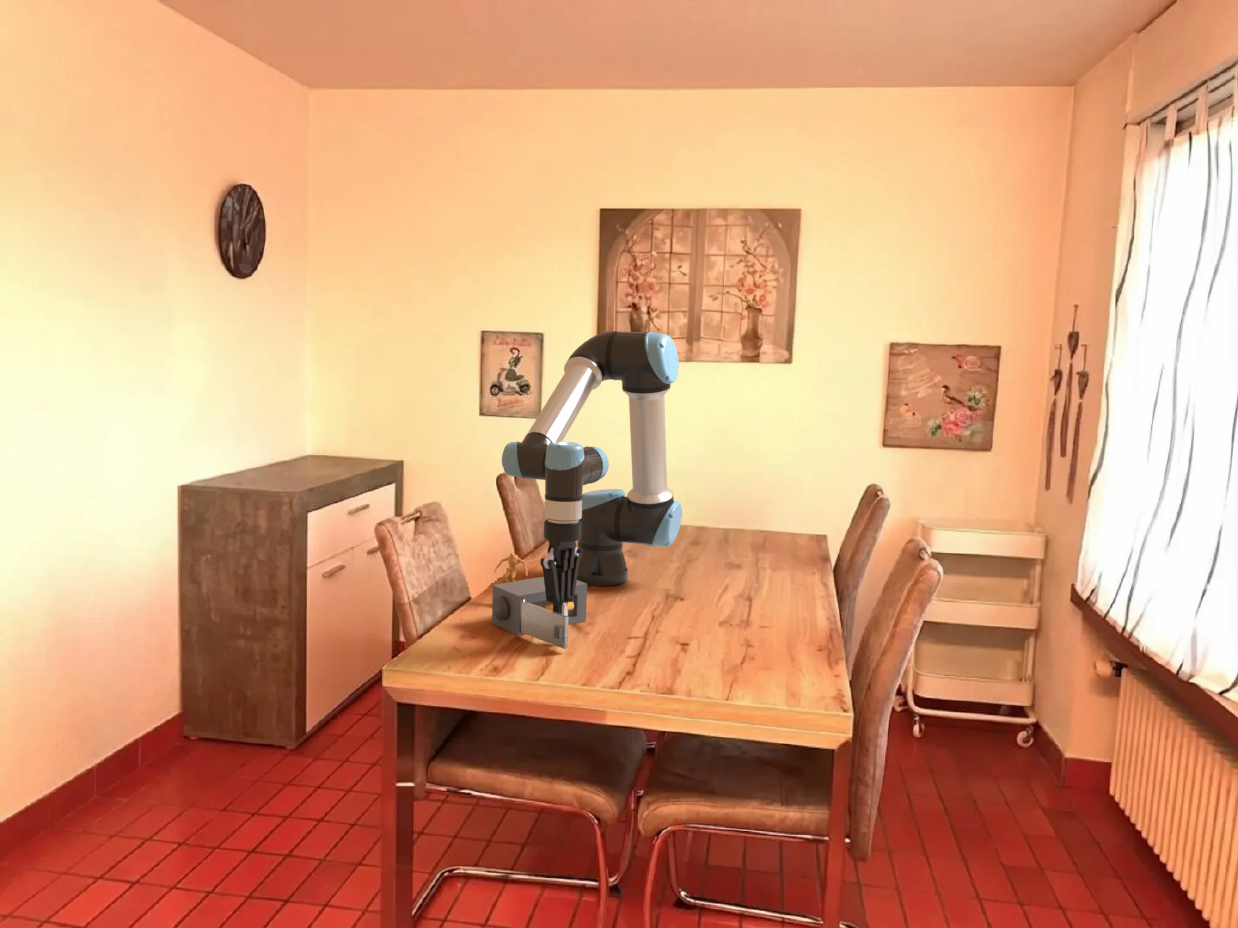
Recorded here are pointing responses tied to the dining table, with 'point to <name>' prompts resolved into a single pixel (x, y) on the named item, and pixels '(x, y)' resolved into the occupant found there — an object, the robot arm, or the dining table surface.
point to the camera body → (534, 593)
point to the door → (543, 624)
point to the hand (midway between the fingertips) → (559, 633)
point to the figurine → (512, 566)
